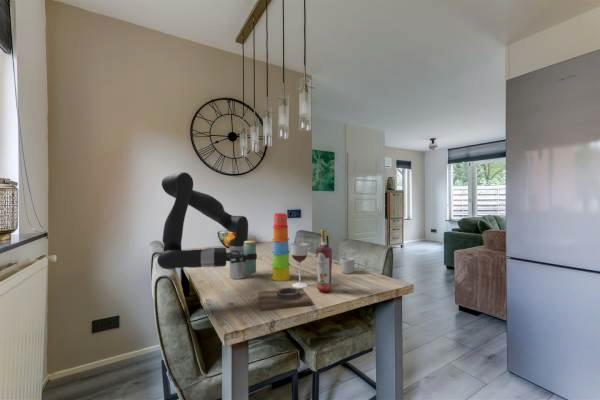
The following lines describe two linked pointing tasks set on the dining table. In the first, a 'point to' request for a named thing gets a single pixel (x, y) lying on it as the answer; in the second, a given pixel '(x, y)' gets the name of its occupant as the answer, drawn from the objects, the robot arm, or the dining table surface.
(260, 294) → the lamp base
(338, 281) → the dining table surface
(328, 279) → the liquor
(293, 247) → the wineglass
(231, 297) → the dining table surface
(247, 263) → the teal cylinder
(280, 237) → the stacking cups
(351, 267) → the cup
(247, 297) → the dining table surface
